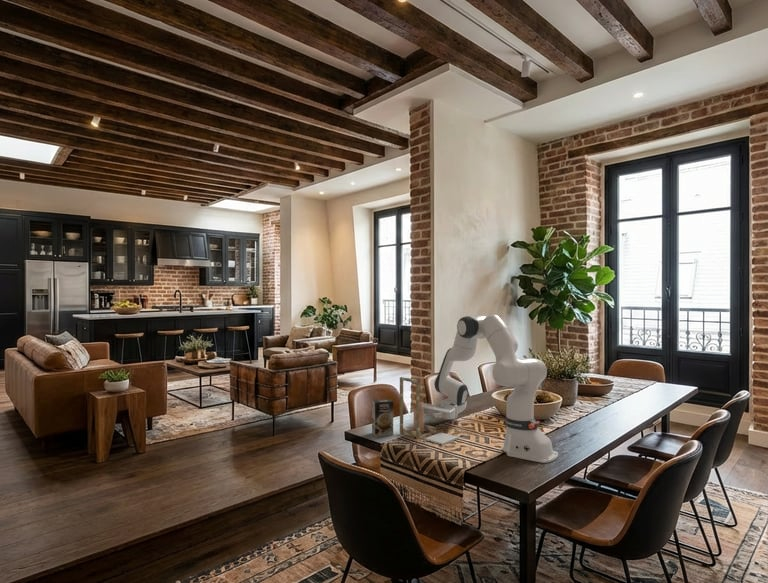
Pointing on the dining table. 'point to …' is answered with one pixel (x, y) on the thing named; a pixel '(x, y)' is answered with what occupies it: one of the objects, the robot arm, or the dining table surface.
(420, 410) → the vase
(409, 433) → the rack
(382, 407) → the coffee box
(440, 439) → the coaster
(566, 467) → the dining table surface
